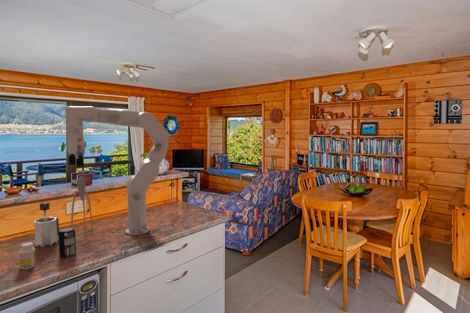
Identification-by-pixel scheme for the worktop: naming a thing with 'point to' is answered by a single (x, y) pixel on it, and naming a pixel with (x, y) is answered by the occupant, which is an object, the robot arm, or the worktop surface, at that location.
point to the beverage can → (67, 242)
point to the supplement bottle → (27, 256)
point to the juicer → (81, 193)
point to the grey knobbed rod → (44, 208)
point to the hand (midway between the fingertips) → (76, 165)
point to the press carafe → (46, 231)
